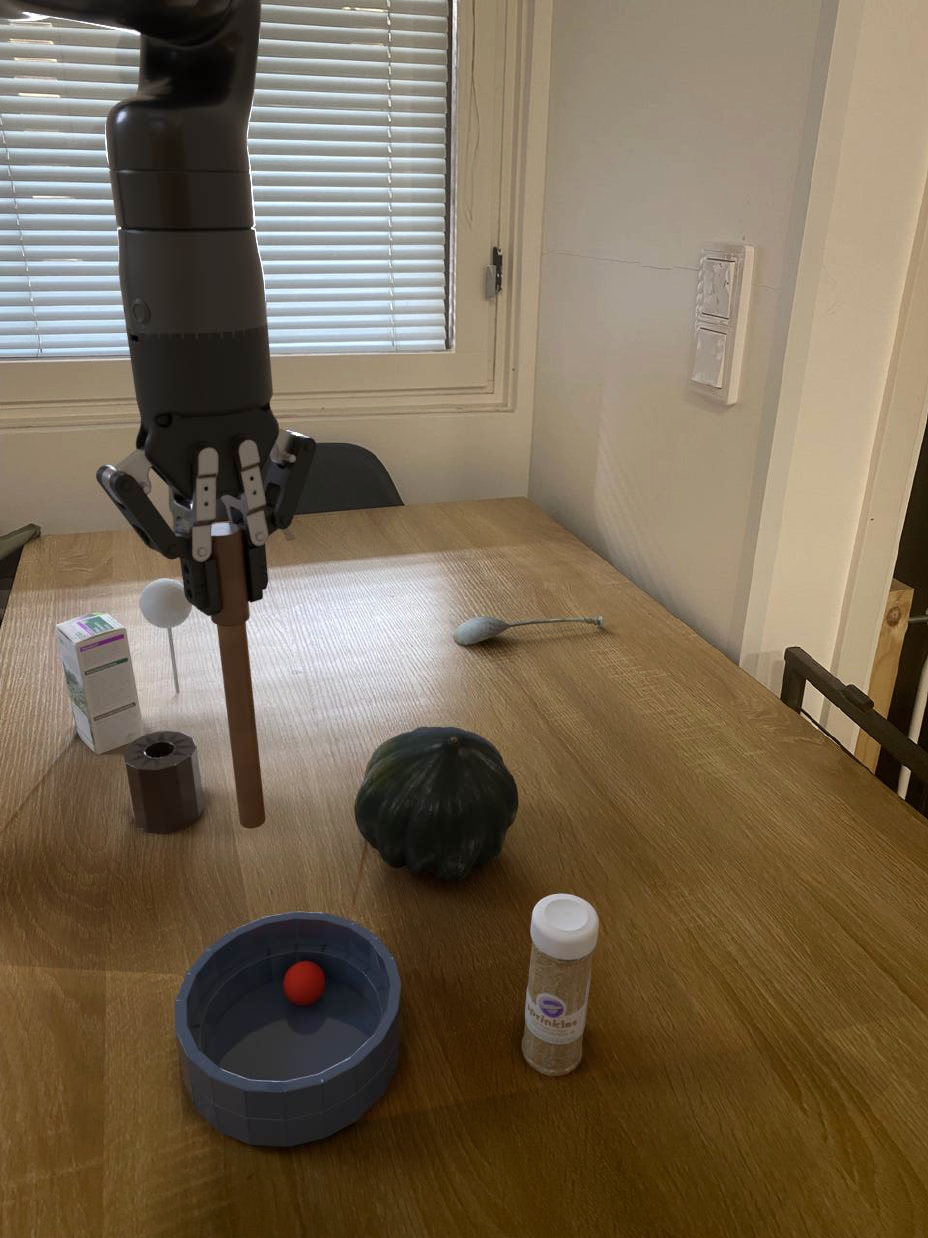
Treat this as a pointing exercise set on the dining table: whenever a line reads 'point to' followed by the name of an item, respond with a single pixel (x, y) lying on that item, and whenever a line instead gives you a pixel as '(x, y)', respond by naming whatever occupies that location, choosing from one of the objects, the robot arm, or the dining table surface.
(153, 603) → the lollipop
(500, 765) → the squash
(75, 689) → the syrup box
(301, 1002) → the cherry tomato
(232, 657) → the stirring stick
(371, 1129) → the dining table surface
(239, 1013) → the bowl
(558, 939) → the sprinkles bottle
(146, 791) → the crock
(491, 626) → the soupspoon
